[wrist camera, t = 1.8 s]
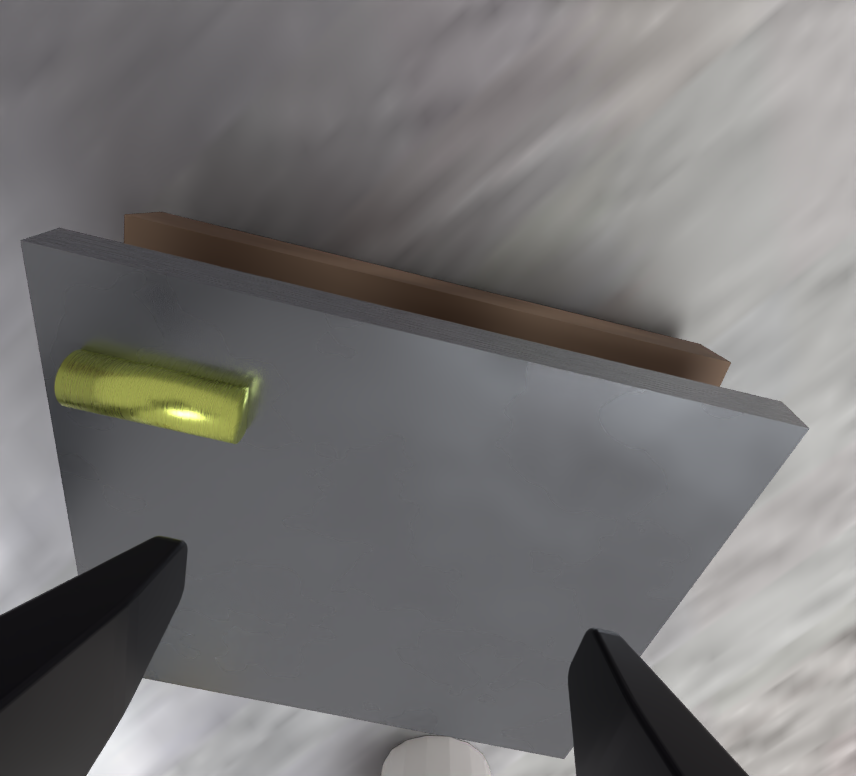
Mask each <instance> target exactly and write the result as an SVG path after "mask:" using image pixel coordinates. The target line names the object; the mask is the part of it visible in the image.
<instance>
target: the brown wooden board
mask: <svg viewBox="0 0 856 776" xmlns="http://www.w3.org/2000/svg"><path fill="white" fill-rule="evenodd" d="M124 243H125V244H129V245H133V246H137V247H141V248H145V249H150V250H154V251H158V252H162V253H166V254H170V255H174V256H179V257H183V258H187V259H191V260H195V261H199V262H204V263H208V264H212V265H216V266H220V267H224V268H228V269H233V270H237V271H241V272H245V273H249V274H253V275H257V276H262V277H266V278H270V279H274V280H278V281H282V282H287V283H291V284H295V285H299V286H303V287H307V288H311V289H316V290H320V291H324V292H328V293H332V294H336V295H341V296H345V297H349V298H353V299H357V300H361V301H365V302H370V303H374V304H378V305H382V306H386V307H390V308H394V309H399V310H403V311H407V312H411V313H415V314H419V315H424V316H428V317H432V318H436V319H440V320H444V321H448V322H453V323H457V324H461V325H465V326H469V327H473V328H478V329H482V330H486V331H490V332H494V333H498V334H502V335H507V336H511V337H515V338H519V339H523V340H527V341H531V342H536V343H540V344H544V345H548V346H552V347H556V348H561V349H565V350H569V351H573V352H577V353H581V354H585V355H590V356H594V357H598V358H602V359H606V360H610V361H614V362H619V363H623V364H627V365H631V366H635V367H639V368H644V369H648V370H652V371H656V372H660V373H664V374H668V375H673V376H677V377H681V378H685V379H689V380H693V381H698V382H702V383H706V384H710V385H714V386H718V387H720V385H721V383H722V381H723V378H724V376H725V374H726V372H727V370H728V368H729V366H730V364H731V362H729V361H728V360H726V359H724V358H723V357H721V356H719V355H718V354H716V353H714V352H713V351H711V350H709V349H707V348H706V347H704V346H702V345H701V344H698V343H694V342H690V341H686V340H682V339H678V338H673V337H669V336H665V335H661V334H657V333H653V332H649V331H645V330H641V329H637V328H633V327H629V326H625V325H620V324H616V323H612V322H608V321H604V320H600V319H596V318H592V317H588V316H584V315H580V314H576V313H572V312H568V311H563V310H559V309H555V308H551V307H547V306H543V305H539V304H535V303H531V302H527V301H523V300H519V299H515V298H511V297H506V296H502V295H498V294H494V293H490V292H486V291H482V290H478V289H474V288H470V287H466V286H462V285H458V284H453V283H449V282H445V281H441V280H437V279H433V278H429V277H425V276H421V275H417V274H413V273H409V272H405V271H401V270H396V269H392V268H388V267H384V266H380V265H376V264H372V263H368V262H364V261H360V260H356V259H352V258H348V257H344V256H339V255H335V254H331V253H327V252H323V251H319V250H315V249H311V248H307V247H303V246H299V245H295V244H291V243H286V242H282V241H278V240H274V239H270V238H266V237H262V236H258V235H254V234H250V233H246V232H242V231H238V230H234V229H229V228H225V227H221V226H217V225H213V224H209V223H205V222H201V221H197V220H193V219H189V218H185V217H181V216H177V215H172V214H168V213H164V212H152V213H138V214H125V217H124Z"/></svg>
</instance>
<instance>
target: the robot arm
mask: <svg viewBox="0 0 856 776" xmlns="http://www.w3.org/2000/svg"><path fill="white" fill-rule="evenodd" d="M187 553H188V547H187V544H186V542H185V541H183V540H179V539H175V538H170V537H165V536H155V537H153V538H150V539H148V540H146V541H144V542H143V543H141V544H139V545H137V546H135V547H133V548H131V549H129V550H127V551H125V552H123V553H121V554H119V555H117V556H115V557H113V558H111V559H109V560H107V561H105V562H103V563H101V564H100V565H98V566H96V567H94V568H92V569H90V570H88V571H86V572H84V573H82V574H80V575H78V576H76V577H74V578H72V579H70V580H68V581H66V582H64V583H62V584H60V585H58V586H57V587H55V588H53V589H51V590H49V591H47V592H45V593H43V594H41V595H39V596H37V597H35V598H33V599H31V600H29V601H27V602H25V603H23V604H21V605H19V606H17V607H15V608H13V609H12V610H10V611H8V612H6V613H4V614H2V615H0V776H86V775H87V774H88V772H89V771H90V769H91V767H92V766H93V764H94V762H95V761H96V759H97V758H98V756H99V754H100V753H101V751H102V750H103V748H104V746H105V745H106V743H107V742H108V740H109V738H110V737H111V735H112V733H113V732H114V730H115V728H116V727H117V725H118V723H119V722H120V720H121V718H122V717H123V715H124V713H125V711H126V709H127V707H128V705H129V704H130V702H131V700H132V698H133V696H134V694H135V692H136V690H137V688H138V686H139V684H140V682H141V680H142V678H143V676H144V674H145V672H146V670H147V668H148V666H149V663H150V661H151V659H152V657H153V655H154V653H155V651H156V649H157V647H158V645H159V643H160V641H161V639H162V637H163V635H164V633H165V631H166V629H167V627H168V625H169V623H170V621H171V619H172V617H173V615H174V613H175V611H176V609H177V607H178V605H179V603H180V600H181V598H182V595H183V591H184V587H185V577H186V565H187ZM568 691H569V702H570V713H571V724H572V734H573V745H574V756H575V767H576V776H749V775H748V774H747V773H746V772H745V771H744V770H743V769H742V768H741V766H740V765H739V764H738V763H737V762H736V761H735V760H734V759H733V758H732V757H731V756H730V754H729V753H728V752H727V751H726V750H725V749H724V748H723V747H722V746H721V745H720V744H719V742H718V741H717V740H716V739H715V738H714V737H713V736H712V735H711V734H710V733H709V732H708V730H707V729H706V728H705V727H704V726H703V725H702V724H701V723H700V722H699V721H698V720H697V718H696V717H695V716H694V715H693V714H692V713H691V712H690V711H689V710H688V709H687V708H686V706H685V705H684V704H683V703H682V702H681V701H680V700H679V699H678V698H677V697H676V696H675V694H674V693H673V692H672V691H671V690H670V689H669V688H668V687H667V686H666V685H665V684H664V682H663V681H662V680H661V679H660V678H659V677H658V676H657V675H656V674H655V673H654V672H653V670H652V669H651V668H650V667H649V666H648V665H647V664H646V663H645V662H644V661H643V660H642V658H641V657H640V656H639V655H638V654H637V653H636V652H635V651H634V650H633V649H632V648H631V646H630V645H629V644H628V643H627V642H626V641H625V640H624V639H623V638H622V637H621V636H620V635H619V634H618V633H616V632H613V631H609V630H604V629H599V628H590V629H588V630H587V631H586V633H585V634H584V636H583V638H582V641H581V643H580V645H579V647H578V649H577V651H576V653H575V656H574V658H573V660H572V662H571V664H570V667H569V671H568Z"/></svg>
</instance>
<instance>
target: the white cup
mask: <svg viewBox="0 0 856 776" xmlns="http://www.w3.org/2000/svg"><path fill="white" fill-rule="evenodd" d="M381 776H491V773H490V768H489V766H488V764H487V762H486V760H485V758H484V756H483V754H482V753H480V752H479V751H478V750H477V749H475V748H474V747H473V746H472V745H470V744H469V743H466V742H463V741H460V740H458V739H455V738H452V737H447V736H423V737H419V738H415V739H410V740H407V741H405V742H403V743H402V744H400V745H399V746H397V747H395V748H394V749H392V750H391V752H390V753H389V755H388V756H387V758H386V760H385V761H384V763H383V768H382V773H381Z"/></svg>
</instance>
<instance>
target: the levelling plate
mask: <svg viewBox="0 0 856 776" xmlns="http://www.w3.org/2000/svg"><path fill="white" fill-rule="evenodd" d="M20 241H21V247H22V252H23V258H24V264H25V270H26V276H27V281H28V287H29V293H30V299H31V304H32V310H33V316H34V322H35V328H36V333H37V339H38V345H39V351H40V357H41V362H42V368H43V374H44V380H45V386H46V391H47V397H48V403H49V409H50V414H51V420H52V426H53V432H54V438H55V443H56V449H57V455H58V461H59V467H60V472H61V478H62V484H63V490H64V495H65V501H66V507H67V513H68V519H69V524H70V530H71V536H72V542H73V548H74V553H75V559H76V565H77V571H78V575H80V574H82V573H84V572H86V571H88V570H90V569H92V568H94V567H96V566H98V565H100V564H101V563H103V562H105V561H107V560H109V559H111V558H113V557H115V556H117V555H119V554H121V553H123V552H125V551H127V550H129V549H131V548H133V547H135V546H137V545H139V544H141V543H143V542H144V541H146V540H148V539H150V538H153V537H155V536H165V537H170V538H175V539H179V540H183V541H185V542H186V544H187V547H188V553H187V565H186V577H185V587H184V591H183V595H182V598H181V600H180V603H179V605H178V607H177V609H176V611H175V613H174V615H173V617H172V619H171V621H170V623H169V625H168V627H167V629H166V631H165V633H164V635H163V637H162V639H161V641H160V643H159V645H158V647H157V649H156V651H155V653H154V655H153V657H152V659H151V661H150V663H149V666H148V668H147V670H146V672H145V674H144V676H143V678H145V679H151V680H156V681H161V682H166V683H171V684H177V685H182V686H187V687H192V688H197V689H203V690H208V691H213V692H218V693H223V694H229V695H234V696H239V697H244V698H249V699H255V700H260V701H265V702H270V703H275V704H281V705H286V706H291V707H296V708H301V709H307V710H312V711H317V712H322V713H327V714H333V715H338V716H343V717H348V718H353V719H359V720H364V721H369V722H374V723H380V724H385V725H390V726H395V727H400V728H406V729H411V730H416V731H421V732H426V733H432V734H437V735H442V736H447V737H452V738H458V739H463V740H468V741H473V742H478V743H484V744H489V745H494V746H499V747H504V748H510V749H515V750H520V751H525V752H530V753H536V754H541V755H546V756H551V757H556V758H562V759H564V758H565V757H566V756H567V754H568V753H569V752H570V750H571V749H572V748H573V746H574V745H573V734H572V724H571V713H570V702H569V691H568V671H569V667H570V664H571V662H572V660H573V658H574V656H575V653H576V651H577V649H578V647H579V645H580V643H581V641H582V638H583V636H584V634H585V633H586V631H587V630H588V629H590V628H599V629H604V630H609V631H613V632H616V633H618V634H619V635H620V636H621V637H622V638H623V639H624V640H625V641H626V642H627V643H628V644H629V645H630V646H631V648H632V649H633V650H634V651H635V652H636V653H637V654H638V655H639V656H641V655H642V653H643V652H644V651H645V649H646V648H647V647H648V645H649V644H650V643H651V641H652V640H653V639H654V637H655V636H656V634H657V633H658V632H659V630H660V629H661V628H662V626H663V625H664V624H665V622H666V621H667V620H668V618H669V617H670V616H671V614H672V613H673V612H674V610H675V609H676V608H677V606H678V605H679V604H680V602H681V601H682V599H683V598H684V597H685V595H686V594H687V593H688V591H689V590H690V589H691V587H692V586H693V585H694V583H695V582H696V581H697V579H698V578H699V577H700V575H701V574H702V573H703V571H704V570H705V569H706V567H707V566H708V564H709V563H710V562H711V560H712V559H713V558H714V556H715V555H716V554H717V552H718V551H719V550H720V548H721V547H722V546H723V544H724V543H725V542H726V540H727V539H728V538H729V536H730V535H731V533H732V532H733V531H734V529H735V528H736V527H737V525H738V524H739V523H740V521H741V520H742V519H743V517H744V516H745V515H746V513H747V512H748V511H749V509H750V508H751V507H752V505H753V504H754V503H755V501H756V500H757V498H758V497H759V496H760V494H761V493H762V492H763V490H764V489H765V488H766V486H767V485H768V484H769V482H770V481H771V480H772V478H773V477H774V476H775V474H776V473H777V472H778V470H779V469H780V468H781V466H782V465H783V463H784V462H785V461H786V459H787V458H788V457H789V455H790V454H791V453H792V451H793V450H794V449H795V447H796V446H797V445H798V443H799V442H800V441H801V439H802V438H803V437H804V435H805V434H806V433H807V431H808V430H809V428H808V427H807V426H806V425H805V424H804V423H803V422H802V421H801V420H800V419H799V418H798V417H797V416H796V415H795V414H794V413H793V412H792V411H791V410H790V409H789V408H788V407H787V406H786V405H785V404H784V403H783V402H781V401H776V400H772V399H768V398H764V397H760V396H756V395H751V394H747V393H743V392H739V391H735V390H731V389H727V388H722V387H718V386H714V385H710V384H706V383H702V382H698V381H693V380H689V379H685V378H681V377H677V376H673V375H668V374H664V373H660V372H656V371H652V370H648V369H644V368H639V367H635V366H631V365H627V364H623V363H619V362H614V361H610V360H606V359H602V358H598V357H594V356H590V355H585V354H581V353H577V352H573V351H569V350H565V349H561V348H556V347H552V346H548V345H544V344H540V343H536V342H531V341H527V340H523V339H519V338H515V337H511V336H507V335H502V334H498V333H494V332H490V331H486V330H482V329H478V328H473V327H469V326H465V325H461V324H457V323H453V322H448V321H444V320H440V319H436V318H432V317H428V316H424V315H419V314H415V313H411V312H407V311H403V310H399V309H394V308H390V307H386V306H382V305H378V304H374V303H370V302H365V301H361V300H357V299H353V298H349V297H345V296H341V295H336V294H332V293H328V292H324V291H320V290H316V289H311V288H307V287H303V286H299V285H295V284H291V283H287V282H282V281H278V280H274V279H270V278H266V277H262V276H257V275H253V274H249V273H245V272H241V271H237V270H233V269H228V268H224V267H220V266H216V265H212V264H208V263H204V262H199V261H195V260H191V259H187V258H183V257H179V256H174V255H170V254H166V253H162V252H158V251H154V250H150V249H145V248H141V247H137V246H133V245H129V244H125V243H121V242H116V241H112V240H108V239H104V238H100V237H96V236H91V235H87V234H83V233H79V232H75V231H71V230H67V229H62V228H57V229H54V230H51V231H48V232H45V233H42V234H39V235H36V236H33V237H29V238H26V239H23V240H20Z"/></svg>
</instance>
